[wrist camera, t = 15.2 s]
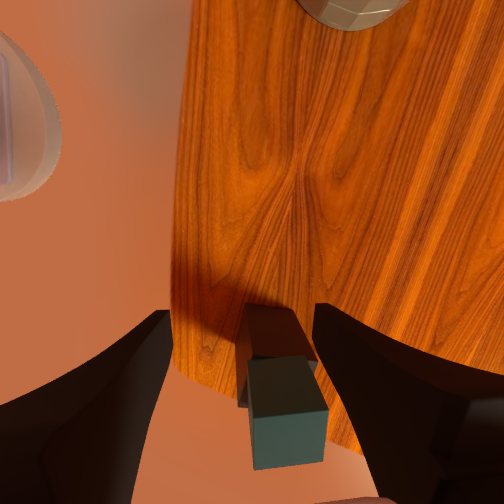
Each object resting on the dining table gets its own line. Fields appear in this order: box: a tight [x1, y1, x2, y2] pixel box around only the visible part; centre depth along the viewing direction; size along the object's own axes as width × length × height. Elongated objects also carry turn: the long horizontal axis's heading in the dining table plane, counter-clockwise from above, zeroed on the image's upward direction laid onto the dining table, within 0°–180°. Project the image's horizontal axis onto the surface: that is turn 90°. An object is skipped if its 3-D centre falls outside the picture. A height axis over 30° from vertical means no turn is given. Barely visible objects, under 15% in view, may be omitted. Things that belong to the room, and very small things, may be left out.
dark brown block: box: [235, 303, 318, 408], centre depth 21 cm, size 5×5×7 cm
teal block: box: [247, 355, 329, 470], centre depth 15 cm, size 4×4×4 cm
